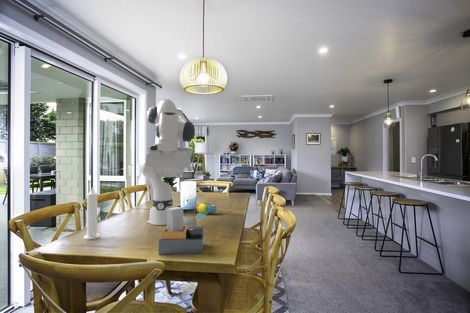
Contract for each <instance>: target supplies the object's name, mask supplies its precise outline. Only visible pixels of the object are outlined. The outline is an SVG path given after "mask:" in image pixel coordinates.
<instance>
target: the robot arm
mask: <svg viewBox="0 0 470 313" xmlns="http://www.w3.org/2000/svg"><path fill="white" fill-rule="evenodd" d="M146 118H147V120H148V122H149V123H150V124H153V125H155V126H156V128H155V129H156V130H155V136H154V137H155V138H154V144H153V145H152V144H151V145H149V146H148V147H147V153H146V154H145V159H144V161H143V162H142V163H141V165H140V166H141V167H140V171H141V174H142V175H143V176H144V177H145V178H147V179H148V181H149V182H150V184H151V185H152V192H153V194H152V195H153V199H152V201H151V203H152V207H151V208H150V210H149V219H148V220H146V223H147V224H151V225H153V226H167V209H169V208H174V205H173V203H174V202H173V200H174V199H173V187H172V186H171V184H169V183H167V182H165V181H163V179H162V178H175V177H176V178H181V176H182V175H183V174H184V172H185V169H187V168H188V169H189V168H190V167H191V166H192V161H191V157H192V149H190V148H189V147H179V145H180V144H179V142H188V143H189V142H191V141H192V140H193V139H194V138H195V136H196V128H195V125H194V123H192V122H191V121H190V120H189V118H188V117H187V115H186V114H185V113H184V112H183V110H181V109H179V108H177V107H176V104H175V103H174V102H173V101H172V99H169V98H164V99H163V98H162V100H160V101H159V103H158V105H157V106H156V105H154V106H151V107H150V108H148V110H147V113H146Z"/></svg>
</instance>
